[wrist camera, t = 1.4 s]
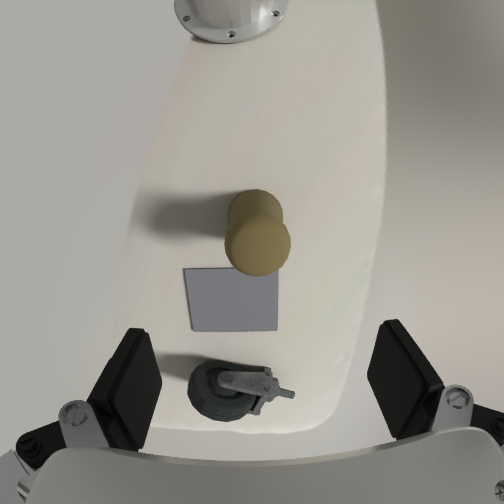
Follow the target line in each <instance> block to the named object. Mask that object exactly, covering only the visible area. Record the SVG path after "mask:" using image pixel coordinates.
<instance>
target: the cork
mask: <svg viewBox="0 0 504 504" xmlns="http://www.w3.org/2000/svg"><path fill="white" fill-rule="evenodd" d="M228 219H229V225H230V227H229V229H228V231H227V233H226V238H225V243H224V245H225V252H226V255H227V257H228V259H229V261H230V263H231V264H232V265H233V266H234V267H235V268H236V269H237V270H238V271H240V272H242V273H243V274H245V275H249V276H254V277H260V276H267V275H269V274H272V273H274V272H276V271H277V270H278V269H279V268H281V267H282V266H283V264H284V263H285V261H286V260H287V258H288V255H289V251H290V248H291V243H290V236H289V233H288V231H287V228H286V226H285V225H284V224H283V212H282V208H281V205H280V203H279V201H278V200H277V199H276V198H275V197H274V196H273V195H272V194H270V193H268V192H266V191H263V190H258V189H255V190H248V191H245V192H243V193H241V194H239V195H238V196H237V197H236V198H235V199H234V200H233V202H232V204H231V205H230V208H229V213H228Z"/></svg>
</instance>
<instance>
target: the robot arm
mask: <svg viewBox="0 0 504 504" xmlns="http://www.w3.org/2000/svg"><path fill="white" fill-rule="evenodd" d="M288 1H289V0H175V2H174V6H175V12H176V15H177V18H178V20H179V21H180V23H181V24H182V25H183V27H184V28H185V29H186V30H188V31H189V32H190V33H191V34H193V35H195V36H197V37H199V38H201V39H204V40H208V41H211V42H218V43H237V42H243V41H248V40H251V39H254V38H257V37H259V36H262V35H264V34H266V33H267V32H269V31H270V30H272V29H273V28H274V27H275V26H276V25H277V24H278V23H279V22H280V21H281V20H282V18H283V17H284V15H285V12H286V10H287V6H288ZM274 15H276V16H277V17H275V16H274ZM188 20H189V21H188ZM186 21H188V22H186ZM231 35H233V36H234V37H232V38H231V37H229V36H231ZM367 378H368V381H369V383H370V385H371V387H372V390H373V392H374V395H375V397H376V399H377V402H378V404H379V406H380V409H381V411H382V414H383V416H384V418H385V421H386V423H387V425H388V428H389V431H390V433H391V435H392V437H393V438H396V440H397V441H394V442H390V443H386V444H382V445H377V446H373V447H369V448H365V449H359V450H354V451H349V452H344V453H337V454H331V455H323V456H317V457H308V458H298V459H285V460H268V461H216V460H199V459H187V458H177V457H169V456H160V455H153V454H146V453H140V452H138V450H139V449H142V448H143V446H144V443H145V439H146V436H147V433H148V429H149V426H150V423H151V419H152V416H153V413H154V410H155V407H156V403H157V400H158V397H159V394H160V391H161V388H162V378H161V375H160V372H159V369H158V365H157V362H156V358H155V355H154V351H153V348H152V344H151V341H150V337H149V334H148V333H147V332H145V331H144V329H141V328H129V329H128V331H127V332H126V334H125V336H124V337H123V339H122V341H121V343H120V344H119V346H118V348H117V349H116V351H115V353H114V355H113V356H112V358H110V360H109V361H108V363H107V364H106V366H105V368H104V370H103V372H102V373H101V375H100V377H99V379H98V381H97V382H96V384H95V386H94V388H93V390H92V392H91V393H90V395H89V397H88V399H87V401H86V402H85V401H82V400H74V401H70V402H69V403H66V404H65V405H64V406H63V407H62V408H61V410H60V411H59V415H58V417H59V421H56V422H53V423H51V424H49V425H46V426H43V427H41V428H38V429H35V430H33V431H30V432H27V433H25V434H23V435H22V436H21V437H20V438H19V439H18V441H17V443H16V450H15V451H12V449H11V450H10V451H8V452H7V453H5V454H4V455H3V456H1V457H0V504H504V413H502V412H499V411H495V410H492V409H489V408H485V407H483V406H479V405H476V404H473V403H474V402H473V401H474V400H473V396H472V393H471V392H470V391H469V390H468V389H467V388H465V387H463V386H461V385H450V386H448V387H446V388H445V386H444V385H443V382H442V380H441V379H440V377H439V376H438V374H437V373H436V371H435V370H434V368H433V367H432V366H431V364H430V362H429V361H428V360H427V358H426V357H425V355H424V354H423V353H422V351H421V350H420V348H419V347H418V345H417V344H416V343H415V341H414V340H413V339H412V337H411V336H410V334H409V333H408V332H407V330H406V329H405V328H404V326H403V325H402V324H401V322H400V321H399V320H398V319H394V320H386V321H384V323H383V324H381V325H380V327H379V330H378V335H377V338H376V342H375V346H374V350H373V354H372V357H371V361H370V364H369V368H368V371H367Z"/></svg>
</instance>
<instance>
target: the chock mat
mask: <svg viewBox="0 0 504 504" xmlns="http://www.w3.org/2000/svg"><path fill="white" fill-rule="evenodd" d="M185 277H186V285H187V292H188V299H189V306H190V312H191V318H192V325H193V331H194V332H247V331H277V326H278V270H277V271H276V272H274V273H272V274H269V275H267V276H260V277H254V276H249V275H245V274H243V273H242V272H240V271H238V270H237V269H236V268H195V269H185Z"/></svg>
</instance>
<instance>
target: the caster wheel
mask: <svg viewBox="0 0 504 504" xmlns="http://www.w3.org/2000/svg"><path fill="white" fill-rule="evenodd" d="M187 394H188V397H189V399H190V401H191V404H192V406H193V407H194V408H195V409H196V410H197V411H198V412H199V413H200V414H202V415H204V416H206V417H208V418H210V419H212V420H216V421H223V422H229V421H234V420H238V419H240V418H242V417H243V416H244V415H246V414H247V413H248V414H253V415H260V411H261V408H262V406H263V405H264V403H265V401H267V402H271V401H272V400H273V399H274V398H275V397H277V396H282V397H286V398H291V399H293V398H294V396H295V392H294V391H290V390H286V389H282V388H280V386H279V382H278V379H277V378H274V377H272V372H271V368H267V367H264V369H263V371H262V372H245V371H244V370H243V369H242V368H240V367H238V366H236V365H233V364H231V363H228V362H222V361H209V362H205V363H203V364H201V365H199V366H197V367H196V369H195V370H194V371H193V372H192V374H191V376H190V380H189V383H188V391H187Z"/></svg>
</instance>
